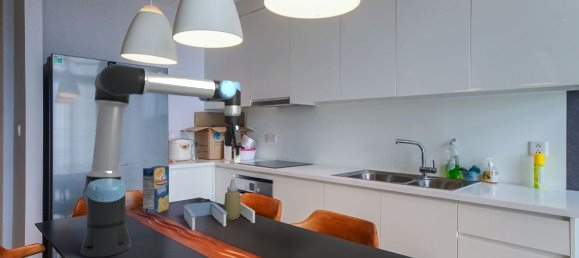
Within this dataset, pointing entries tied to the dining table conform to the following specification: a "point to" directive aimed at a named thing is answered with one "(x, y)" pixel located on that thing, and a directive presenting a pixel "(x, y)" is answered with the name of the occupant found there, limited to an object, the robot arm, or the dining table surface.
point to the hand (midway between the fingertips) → (232, 161)
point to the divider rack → (212, 212)
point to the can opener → (205, 201)
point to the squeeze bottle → (232, 202)
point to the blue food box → (155, 189)
